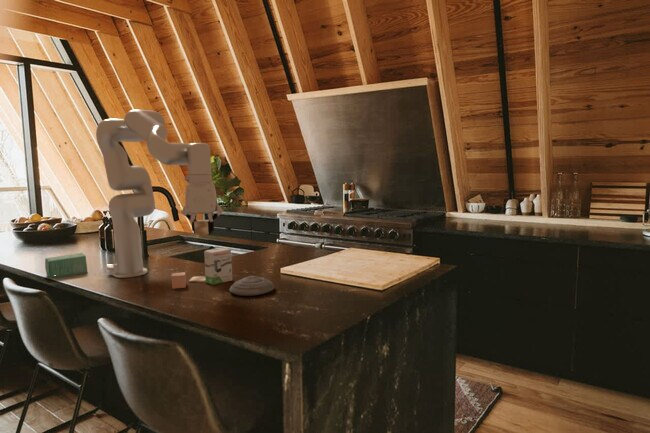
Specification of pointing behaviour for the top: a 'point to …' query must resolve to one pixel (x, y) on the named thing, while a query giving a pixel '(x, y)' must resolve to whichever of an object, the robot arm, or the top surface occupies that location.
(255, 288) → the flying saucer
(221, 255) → the ink box
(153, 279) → the top surface
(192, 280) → the tile
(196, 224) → the maple block
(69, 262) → the box
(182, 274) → the terracotta block
